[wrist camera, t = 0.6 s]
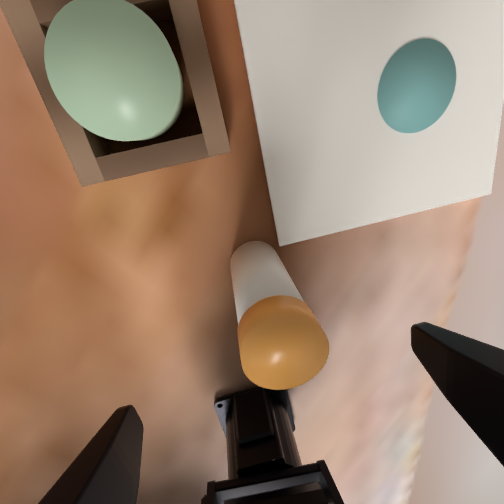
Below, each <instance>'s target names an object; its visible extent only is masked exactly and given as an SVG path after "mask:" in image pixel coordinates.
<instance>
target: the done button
mask: <svg viewBox="0 0 504 504" xmlns="http://www.w3.org/2000/svg"><path fill="white" fill-rule="evenodd" d="M44 61H45V68H46V72H47V76H48V80H49V82H50V85H51V88H52V90H53V92H54V94H55V96H56V97H57V99H58V101H59V102H60V104H61V105H62V107H63V108H64V109H65V110H66V112H67V113H68V114H69V115H70V116H71V117H72V118H73V119H74V120H75V121H76V122H78V123H79V124H80V125H81V126H83V127H84V128H86V129H87V130H89V131H90V132H92V133H94V134H96V135H98V136H101V137H104V138H107V139H111V140H117V141H138V140H148V139H153V138H156V137H158V136H160V135H162V134H164V133H165V132H167V131H168V130H169V129H170V128H171V127H172V126H173V125H174V124H175V122H176V121H177V119H178V117H179V115H180V113H181V110H182V107H183V103H184V82H183V77H182V73H181V70H180V67H179V65H178V63H177V61H176V59H175V56H174V54H173V52H172V50H171V48H170V45H169V43H168V41H167V40H166V38H165V36H164V35H163V33H162V32H161V30H160V29H159V27H158V26H157V25H156V24H155V23H154V22H153V20H152V19H151V18H150V17H149V16H148V15H146V14H145V13H144V12H143V11H142V10H140V9H139V8H137V7H136V6H134V5H133V4H131V3H129V2H127V1H125V0H73V1H71V2H69V3H68V4H66V5H65V6H64V7H63V8H62V9H61V10H60V11H59V12H58V13H57V14H56V15H55V17H54V19H53V20H52V22H51V24H50V26H49V28H48V31H47V35H46V38H45V46H44Z"/></svg>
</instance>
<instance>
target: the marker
mask: <svg viewBox="0 0 504 504" xmlns="http://www.w3.org/2000/svg"><path fill="white" fill-rule="evenodd" d="M230 270H231V277H232V284H233V292H234V299H235V306H236V313H237V320H238V331H237V333H238V342H239V350H240V357H241V364H242V369H243V371H244V373H245V375H246V376H247V377H248V379H249V380H251V381H252V382H253V383H255V384H256V385H258V386H260V387H263V388H266V389H272V390H283V389H290V388H294V387H297V386H299V385H302V384H304V383H306V382H307V381H309V380H310V379H312V378H313V377H314V376H315V375H317V374H318V373H319V371H320V370H321V369H322V368H323V366H324V364H325V363H326V360H327V358H328V354H329V343H328V339H327V337H326V335H325V333H324V331H323V330H322V328H321V326H320V325H319V323H318V321H317V319H316V318H315V316H314V314H313V312H312V311H311V309H310V308H309V306H308V305H307V304H306V303H305V302H304V301H303V299H302V297H301V295H300V293H299V292H298V290H297V288H296V286H295V285H294V283H293V281H292V279H291V277H290V276H289V274H288V272H287V270H286V268H285V267H284V265H283V263H282V261H281V260H280V258H279V256H278V254H277V252H276V251H275V249H274V248H273V247H272V246H271V245H269V244H267V243H265V242H262V241H249V242H246V243H244V244H242V245H240V246H239V247H238V248H237V249H236V250H235V251H234V253H233V254H232V257H231V260H230Z"/></svg>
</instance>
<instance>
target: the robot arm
mask: <svg viewBox="0 0 504 504" xmlns="http://www.w3.org/2000/svg"><path fill="white" fill-rule="evenodd" d="M411 346H412V349H413V352H414V353H415V355H416V356H417V358H418V359H419V361H420V362H421V363H422V365H423V366H424V368H425V369H426V371H427V372H428V373H429V375H430V376H431V378H432V379H433V381H434V382H435V383H436V385H437V386H438V388H439V389H440V391H441V392H442V393H443V395H444V396H445V397H446V398H447V400H448V401H449V402H450V404H451V405H452V406H453V407H454V408H455V409H456V411H457V412H458V413H459V414H460V415H461V416H462V418H463V419H464V420H465V421H466V422H467V424H468V425H469V426H470V427H471V428H472V430H473V431H474V432H475V433H476V434H477V436H478V437H479V438H480V439H481V440H482V441H483V443H484V444H485V445H486V446H487V447H488V449H489V450H490V451H491V452H492V453H493V455H494V456H495V457H496V458H497V459H498V460H499V461H500V463H501V464H502V465H503V466H504V350H503V349H500V348H497V347H494V346H492V345H489V344H486V343H483V342H480V341H477V340H475V339H472V338H469V337H466V336H463V335H461V334H458V333H455V332H452V331H449V330H447V329H444V328H441V327H438V326H435V325H433V324H430V323H427V322H422V323H418V324H414V325H412V327H411ZM214 407H215V410H216V413H217V415H218V418H219V420H220V423H221V426H222V428H223V431H224V433H225V436H226V439H227V459H228V479H229V480H223V481H218V482H215V481H210V482H208V483H207V495H205V496H204V497H203V498H202V499H201V504H344V502H343V500H342V498H341V496H340V493H339V491H338V489H337V487H336V485H335V483H334V480H333V478H332V476H331V474H330V472H329V470H328V467H327V465H326V463H325V461H324V460H319V461H317V463H312V464H307V465H302V463H301V460H300V456H299V452H298V449H297V445H296V442H295V438H294V434H293V432H294V431H295V425H294V420H293V416H292V411H291V407H290V402H289V398H288V393H287V389H283V390H272V389H266V388H263V387H257V388H254V389H250V390H246V391H243V392H239V393H235V394H231V395H228V396H224V397H220V398H217V399H216V400H215V401H214ZM142 441H143V424H142V421H141V419H140V417H139V415H138V414H137V412H136V410H135V408H134V407H133V406H132V405H127V406H123V407H120V408H118V409H117V410H116V411H115V412H114V413H113V414H112V415H111V417H110V418H109V419H108V420H107V421H106V423H105V424H104V425H103V426H102V427H101V429H100V430H99V431H98V432H97V433H96V435H95V436H94V437H93V438H92V439H91V441H90V442H89V443H88V444H87V446H86V447H85V448H84V449H83V450H82V452H81V453H80V454H79V455H78V456H77V458H76V459H75V460H74V461H73V462H72V464H71V465H70V466H69V467H68V468H67V470H66V471H65V472H64V473H63V474H62V476H61V477H60V478H59V479H58V480H57V482H56V483H55V484H54V485H53V486H52V488H51V489H50V490H49V491H48V492H47V494H46V495H45V496H44V497H43V498H42V500H41V501H40V502H39V503H38V504H136V500H137V494H138V487H139V478H140V466H141V453H142Z"/></svg>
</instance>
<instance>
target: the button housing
mask: <svg viewBox="0 0 504 504" xmlns="http://www.w3.org/2000/svg"><path fill="white" fill-rule="evenodd" d="M71 1H73V0H0V6H1V8H2V10H3V13H4V15H5V17H6V19H7V21H8V24H9V26H10V28H11V30H12V33H13V35H14V37H15V39H16V41H17V44H18V46H19V48H20V50H21V52H22V55H23V57H24V59H25V61H26V64H27V66H28V68H29V70H30V72H31V75H32V77H33V79H34V81H35V83H36V86H37V88H38V90H39V92H40V95H41V97H42V99H43V101H44V103H45V106H46V108H47V110H48V112H49V114H50V117H51V119H52V121H53V123H54V126H55V128H56V130H57V132H58V134H59V137H60V139H61V141H62V143H63V146H64V148H65V150H66V152H67V154H68V157H69V159H70V161H71V163H72V165H73V168H74V170H75V172H76V174H77V177H78V179H79V181H80V183H81V185H82V187H83V186H87V185H92V184H96V183H100V182H105V181H109V180H113V179H118V178H122V177H126V176H130V175H135V174H139V173H143V172H148V171H152V170H156V169H161V168H165V167H169V166H173V165H178V164H182V163H186V162H191V161H195V160H199V159H204V158H208V157H212V156H216V155H221V154H225V153H229V152H231V150H230V145H229V141H228V136H227V132H226V128H225V123H224V119H223V114H222V110H221V106H220V101H219V97H218V92H217V88H216V83H215V79H214V75H213V70H212V66H211V61H210V57H209V53H208V48H207V44H206V39H205V35H204V31H203V26H202V22H201V17H200V13H199V8H198V4H197V0H125V1H127V2H129V3H131V4H133V5H134V6H136V7H137V8H139V9H140V10H142V11H143V12H144V13H145V14H146V15H148V16H149V17H150V18H151V19H152V20H153V22H154V23H157V22H162V21H167V20H172V19H174V23H175V27H176V31H177V35H178V39H179V43H180V46H181V50H182V54H183V58H184V62H185V66H186V70H187V73H188V77H189V81H190V85H191V89H192V93H193V97H194V101H195V104H196V108H197V112H198V116H199V120H200V124H201V128H202V131H203V133H202V134H198V135H193V136H189V137H184V138H180V139H176V140H171V141H167V142H163V143H158V144H154V145H149V146H145V147H141V148H136V149H132V150H128V151H123V152H119V153H114V154H111V153H110V151H109V148H108V146H107V143H106V140H105V138H104V137H101V136H98V135H96V134H94V133H92V132H90V131H89V130H87V129H86V128H84V127H83V126H81V125H80V124H79V123H78V122H76V121H75V120H74V119H73V118H72V117H71V116H70V115H69V114H68V113H67V112H66V110H65V109H64V108H63V107H62V105H61V104H60V102H59V101H58V99H57V97H56V96H55V94H54V92H53V90H52V88H51V85H50V82H49V80H48V76H47V72H46V68H45V61H44V46H45V38H46V35H47V31H48V28H49V26H50V24H51V22H52V20H53V19H54V17H55V15H56V14H57V13H58V12H59V11H60V10H61V9H62V8H63V7H64V6H65V5H66V4H68V3H69V2H71Z"/></svg>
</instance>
